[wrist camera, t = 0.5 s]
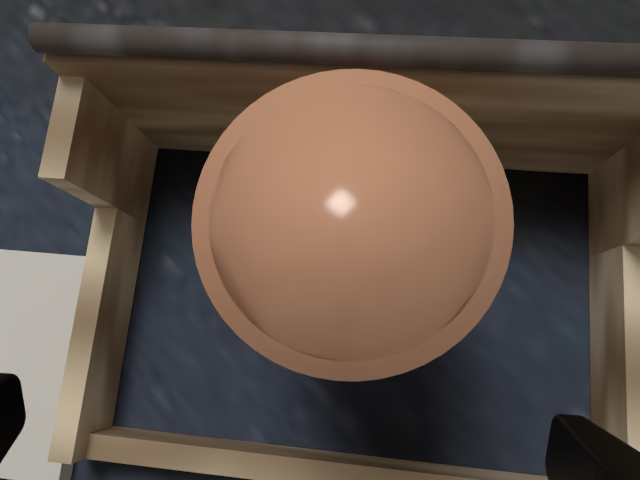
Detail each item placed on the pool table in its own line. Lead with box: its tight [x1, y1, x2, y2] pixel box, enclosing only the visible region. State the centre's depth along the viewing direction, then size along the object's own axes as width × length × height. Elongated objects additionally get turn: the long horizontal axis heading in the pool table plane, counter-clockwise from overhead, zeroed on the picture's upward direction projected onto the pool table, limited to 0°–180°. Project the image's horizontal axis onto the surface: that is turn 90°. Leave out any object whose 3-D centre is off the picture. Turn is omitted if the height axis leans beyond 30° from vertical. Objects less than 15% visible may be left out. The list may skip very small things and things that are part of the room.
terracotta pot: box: [191, 69, 514, 381], centre depth 17 cm, size 7×7×12 cm
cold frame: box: [28, 22, 640, 480], centre depth 19 cm, size 16×23×9 cm
